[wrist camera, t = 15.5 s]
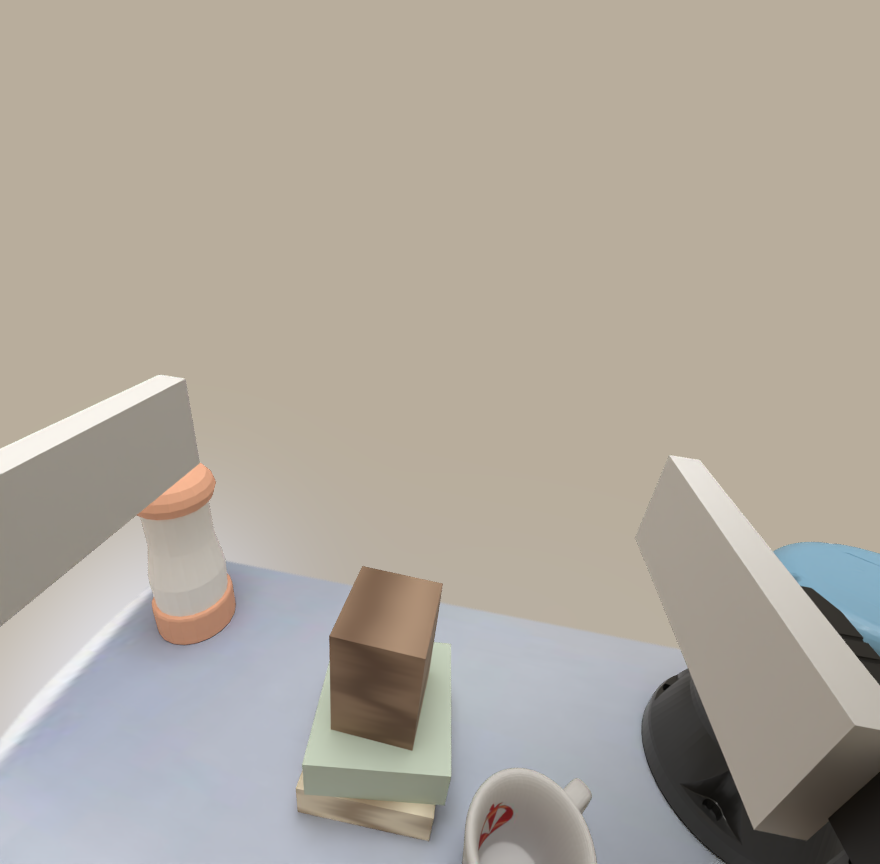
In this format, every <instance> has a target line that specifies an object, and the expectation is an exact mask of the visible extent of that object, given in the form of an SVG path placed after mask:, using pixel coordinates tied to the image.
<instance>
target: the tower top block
mask: <svg viewBox="0 0 880 864" xmlns="http://www.w3.org/2000/svg"><path fill="white" fill-rule="evenodd" d="M302 769H303V784H304V794H305V795H318V796H330V797H343V798H356V799H369V800H381V801H394V802H407V803H420V804H432V805H445V801H446V797H447V792H448V788H449V784H450V780H451V644H447V643H436V642H434V644H433V651H432V657H431V664H430V671H429V675H428V680H427V685H426V689H425V694H424V699H423V703H422V708H421V713H420V717H419V722H418V727H417V731H416V736H415V741H414V745H413V750H412V751H411V750H407V749H403V748H400V747H396V746H392V745H388V744H384V743H381V742H377V741H373V740H369V739H365V738H362V737H358V736H354V735H350V734H346V733H343V732H339V731H335V730H331V713H330V661H329V665H328V669H327V673H326V677H325V680H324V684H323V688H322V692H321V695H320V699H319V703H318V707H317V711H316V714H315V718H314V722H313V726H312V729H311V733H310V737H309V741H308V745H307V748H306V752H305V756H304V760H303V763H302Z"/></svg>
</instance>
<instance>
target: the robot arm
mask: <svg viewBox="0 0 880 864" xmlns="http://www.w3.org/2000/svg"><path fill="white" fill-rule="evenodd" d="M199 463H200V461H199V455H198V450H197V444H196V438H195V433H194V426H193V420H192V414H191V408H190V403H189V397H188V391H187V386H186V380H185V379H184V378H177V377H171V376H165V375H158V376H155V377H153V378H151V379H149V380H147V381H145V382H142V383H141V384H138V385H136V386H134V387H132V388H130V389H127V390H125V391H123V392H121V393H119V394H117V395H115V396H113V397H110V398H108V399H106V400H104V401H102V402H99V403H97V404H95V405H93V406H91V407H89V408H87V409H85V410H82V411H80V412H78V413H76V414H74V415H72V416H69V417H68V418H65V419H63V420H61V421H59V422H57V423H54V424H52V425H50V426H48V427H46V428H44V429H42V430H39V431H37V432H35V433H33V434H31V435H29V436H27V437H25V438H22V439H20V440H18V441H16V442H14V443H12V444H9V445H7V446H5V447H3V448H1V449H0V627H1V626H2V625H3V624H4V623H5V622H7V621H8V620H9V619H10V618H12V617H13V616H14V615H15V614H17V612H19V611H20V610H21V609H23V608H24V607H25V606H26V605H27V604H29V603H30V602H31V601H32V600H34V599H35V598H36V597H37V596H38V595H40V594H41V593H42V592H43V591H45V590H46V589H47V588H48V587H49V586H51V585H52V584H53V583H54V582H56V581H57V580H58V579H59V578H60V577H62V576H63V575H64V574H65V573H67V571H69V570H70V569H71V568H73V567H74V566H75V565H76V564H78V563H79V562H80V561H81V560H82V559H84V558H85V557H86V556H87V555H88V554H90V553H91V552H92V551H93V550H95V549H96V548H97V547H98V546H99V545H101V544H102V543H103V542H104V541H105V540H107V539H108V538H109V537H110V536H111V535H113V534H114V533H115V532H117V531H118V530H119V529H120V528H121V527H123V526H124V525H125V524H126V523H127V522H129V521H130V520H131V519H132V518H134V517H135V516H136V515H137V514H139V513H140V512H141V511H142V510H143V509H145V508H146V507H147V506H148V505H149V504H151V503H152V502H153V501H154V500H156V499H157V498H158V497H159V496H160V495H162V494H163V493H164V492H165V491H167V490H168V489H169V488H170V487H171V486H173V485H174V484H175V483H176V482H178V481H179V480H180V479H181V478H182V477H184V476H185V475H186V474H187V473H189V472H190V471H191V470H192V469H193V468H195V467H196V466H197V465H198V464H199ZM635 538H636V541H637V544H638V546H639V549H640V551H641V554H642V556H643V559H644V561H645V563H646V566H647V568H648V571H649V573H650V576H651V578H652V581H653V583H654V585H655V588H656V590H657V593H658V595H659V598H660V600H661V602H662V605H663V608H664V610H665V613H666V615H667V617H668V620H669V622H670V625H671V627H672V630H673V632H674V634H675V637H676V640H677V642H678V644H679V647H680V649H681V652H682V654H683V657H684V659H685V662H686V664H687V667H688V669H686V670H684V671H682V672H681V673H679V674H678V675H675V676H673V677H671V678H669V679H668V680H666V681H665V682H663V683H662V684H661V685H660V686H659V687H658V688H657V690H656V691H655V692H654V694H653V696H652V698H651V700H650V701H649V703H648V705H647V707H646V709H645V712H644V715H643V720H642V739H643V746H644V750H645V754H646V757H647V761H648V763H649V766H650V769H651V771H652V773H653V776H654V778H655V780H656V782H657V784H658V786H659V787H660V789H661V791H662V793H663V794H664V796H665V798H666V799H667V801H668V802H669V804H670V805H671V807H672V808H673V809H674V811H675V812H676V813H677V815H678V816H679V817H680V819H681V820H682V821H683V822H684V823H685V825H686V826H687V827H688V828H689V829H690V830H691V831H692V832H693V833H694V834H695V836H696V837H697V838H698V839H699V840H701V841H702V842H703V843H704V844H705V845H706V846H707V847H708V848H709V849H710V850H711V851H713V852H714V853H715V854H716V855H718V856H719V857H720V858H721V859H723V860H724V861H725V862H727V863H728V864H880V554H879V553H875V552H872V551H868V550H864V549H861V548H856V547H852V546H846V545H841V544H828V543H821V542H801V543H795V544H790V545H787V546H783V547H781V548H778V549H777V550H775V551H772V550H771V549H770V548H769V547H768V545H767V544H766V542H765V541H764V540H763V539H762V538H761V536H760V535H759V534H758V532H757V531H756V530H755V529H754V527H752V525H751V524H750V522H749V521H748V520H747V519H746V517H745V516H744V515H743V514H742V513H741V511H740V510H739V509H738V507H737V506H736V505H735V504H734V502H733V501H732V500H731V499H730V497H729V496H728V495H727V494H726V492H725V491H724V490H723V489H722V488H721V486H720V485H719V484H718V482H717V481H716V480H715V479H714V478H713V476H712V475H711V474H710V472H709V471H708V470H707V469H706V468H705V466H704V465H703V464H702V463H701V461H700V460H696V459H690V458H684V457H678V456H671V455H669V456H668V459H667V461H666V464H665V466H664V469H663V471H662V474H661V476H660V478H659V481H658V483H657V486H656V488H655V490H654V493H653V495H652V498H651V500H650V502H649V505H648V507H647V510H646V512H645V515H644V517H643V519H642V522H641V524H640V527H639V529H638V532H637V534H636V536H635Z"/></svg>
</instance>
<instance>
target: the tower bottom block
mask: <svg viewBox="0 0 880 864" xmlns="http://www.w3.org/2000/svg"><path fill="white" fill-rule="evenodd" d="M296 796H297V808H298V812H301V813H305V814H310V815H314V816H319V817H323V818H328V819H332V820H337V821H341V822H346V823H350V824H355V825H359V826H364V827H368V828H373V829H377V830H381V831H386V832H390V833H395V834H399V835H404V836H408V837H413V838H417V839H422V840H426V841H429V838H430V833H431V828H432V824H433V819H434V811H435V805H432V804H420V803H407V802H394V801H381V800H369V799H356V798H343V797H330V796H318V795H305V794H304V784H303V770H302V773H301V776H300V778H299V781H298V784H297V787H296Z"/></svg>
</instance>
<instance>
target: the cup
mask: <svg viewBox="0 0 880 864" xmlns="http://www.w3.org/2000/svg"><path fill="white" fill-rule="evenodd" d="M591 798H592V794H591V791H590V790H589V788H588V787H587V786H586V785H585V783H584V782H583V781H582V780H580V779H578V778H576V779H574V780H572V781H571V782H570V783H569V784H568V785H567V786H566V787H565V788H564V789H562V788H561V787H560V786H559V785H558V784H556V783H555V782H554V781H552V780H551V779H550V778H548V777H546V776H545V775H543V774H541V773H538V772H536V771H533V770H529V769H525V768H510V769H505V770H502V771H499V772H497V773H495V774H494V775H492V776H490V777H489V778H488V779H487V780H486V781H485V782H484V783H483V784H482V785H481V786H480V788H479V789H478V790H477V792H476V794H475V796H474V797H473V800H472V802H471V804H470V807H469V810H468V814H467V819H466V825H465V836H464V848H463V861H462V864H597V861H596V854H595V849H594V845H593V841H592V838H591V835H590V832H589V829H588V827H587V824H586V822H585V820H584V818H583V816H582V813H583V812H584V810H585V809H586V807H587V806H588V804H589V802H590V800H591Z"/></svg>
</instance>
